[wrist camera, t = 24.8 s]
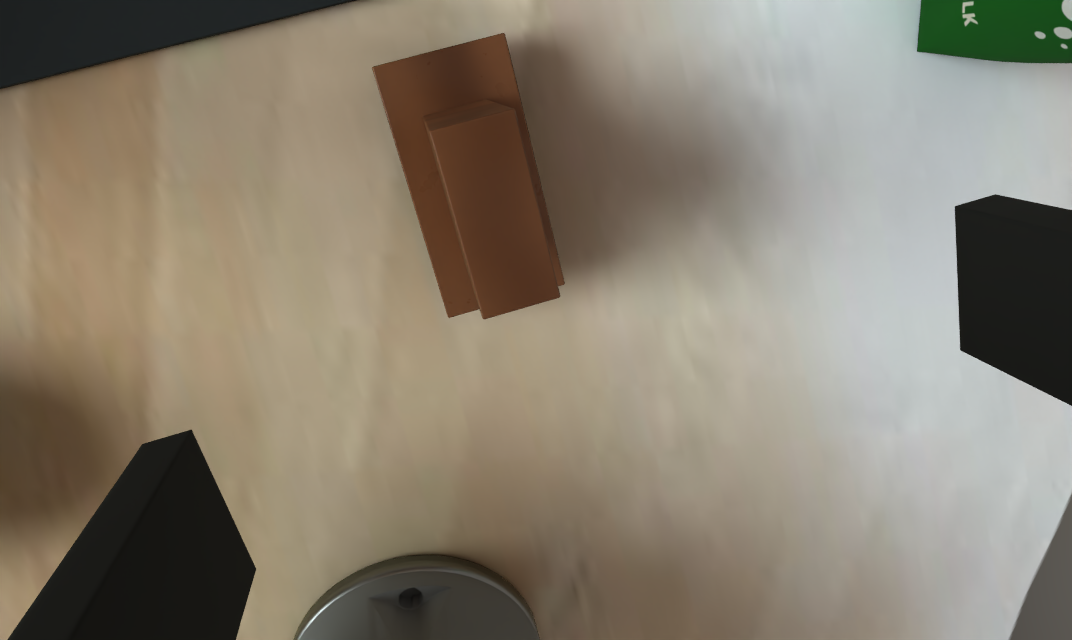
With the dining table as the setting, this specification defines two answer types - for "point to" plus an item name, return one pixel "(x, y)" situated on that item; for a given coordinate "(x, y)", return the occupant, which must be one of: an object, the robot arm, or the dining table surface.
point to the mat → (119, 29)
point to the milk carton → (998, 29)
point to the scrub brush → (472, 176)
